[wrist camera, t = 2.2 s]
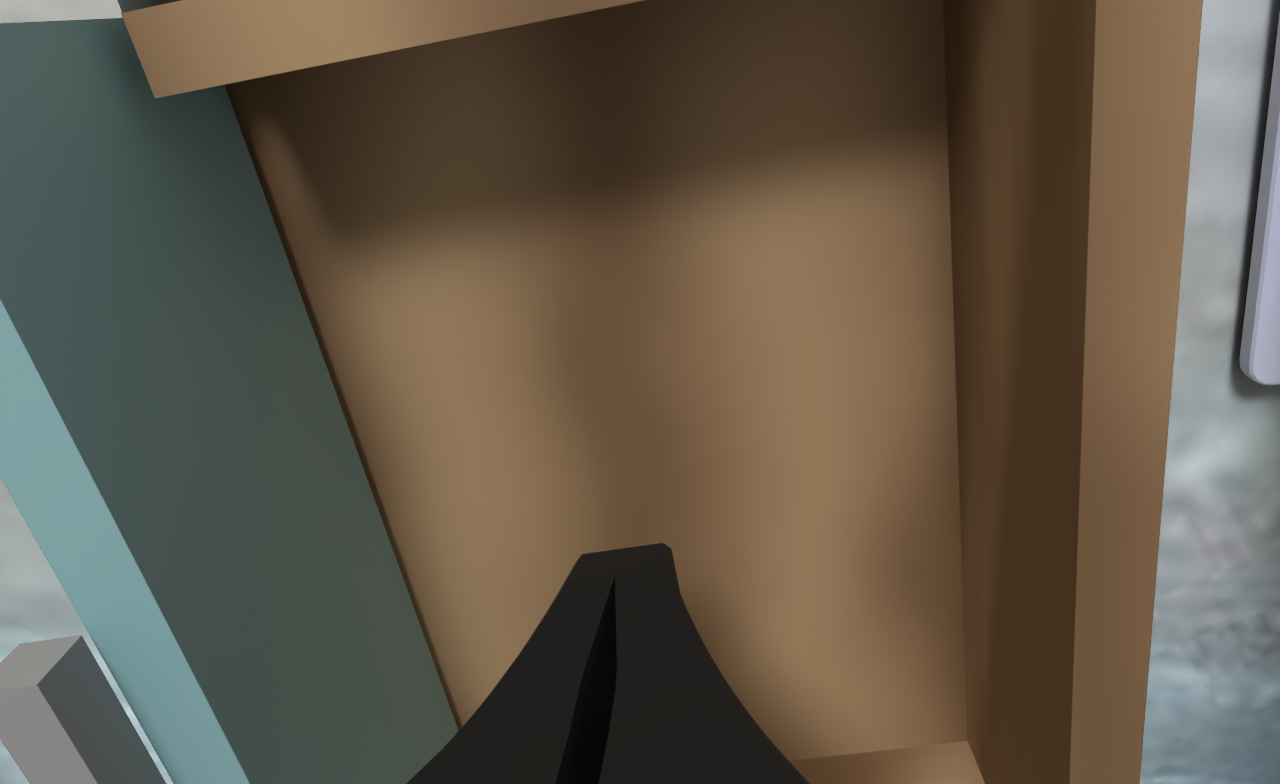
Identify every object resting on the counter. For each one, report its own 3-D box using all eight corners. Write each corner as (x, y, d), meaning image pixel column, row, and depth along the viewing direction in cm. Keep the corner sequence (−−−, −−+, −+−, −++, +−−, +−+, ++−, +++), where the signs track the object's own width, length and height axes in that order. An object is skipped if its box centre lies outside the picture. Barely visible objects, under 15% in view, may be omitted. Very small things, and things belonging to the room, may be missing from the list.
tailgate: (199, 14, 13) (-238, 33, 7) (496, 835, 20) (422, 1211, 14) (88, 37, 13) (-438, 78, 7) (423, 843, 20) (317, 1217, 14)
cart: (964, -223, 13) (1236, -420, 7) (984, 737, 22) (1117, 1045, 15) (182, -53, 15) (-188, -89, 8) (486, 793, 23) (419, 1100, 17)
